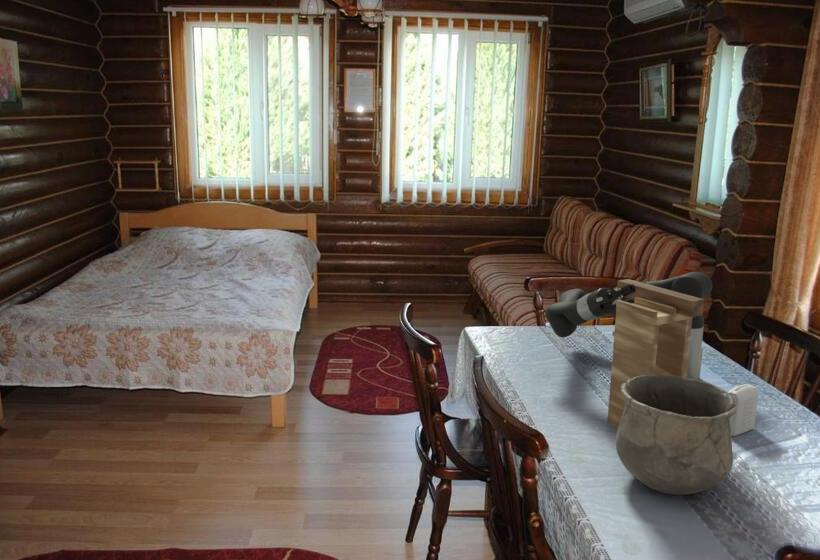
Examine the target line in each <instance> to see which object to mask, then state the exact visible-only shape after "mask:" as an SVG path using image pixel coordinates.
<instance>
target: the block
mask: <svg viewBox="0 0 820 560" xmlns="http://www.w3.org/2000/svg"><path fill="white" fill-rule="evenodd" d="M641 282H642V281H638V280H633V279H629V278H626V279H619V280H617V285H616V287H617V289H618V288H623V287H625V286H628V285H630V284H634V287H635V292H634V293H631V294H629V295H626V296H624V297H625V298H628V299H631V300H635V297H641V298H644V299H648V300H651V301H654V302H658V303H661V304H665V305H668V306H672V307H675V308H676V313H678V314H681V315H685V316H688V317H691V318H692V317H696V316H701V315H702V316H703V313H704V304H705V299H701V298H697V297H693V296H690V295H686V294H682V293H679V292H675V291H671V290H667V289H664V288H660V287H656V286H652V285H649V284H645V283H641Z"/></svg>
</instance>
